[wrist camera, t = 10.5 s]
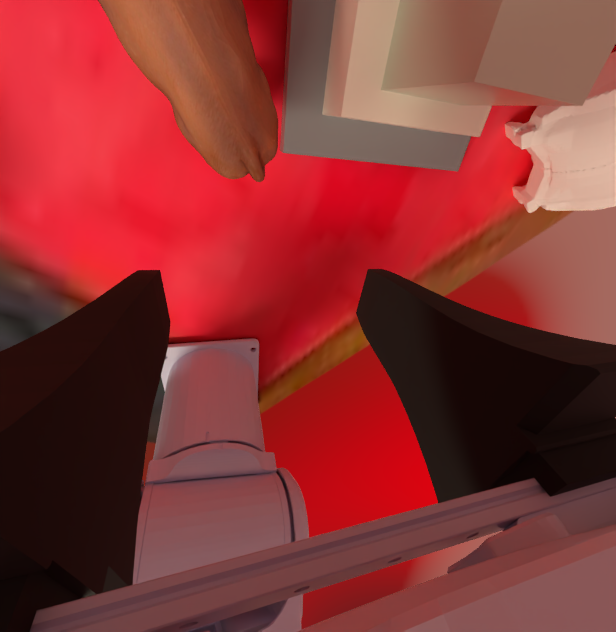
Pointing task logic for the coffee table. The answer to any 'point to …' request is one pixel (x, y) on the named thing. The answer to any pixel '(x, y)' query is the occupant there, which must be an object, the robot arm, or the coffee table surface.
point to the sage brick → (500, 50)
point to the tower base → (337, 131)
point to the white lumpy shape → (571, 151)
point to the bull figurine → (204, 76)
